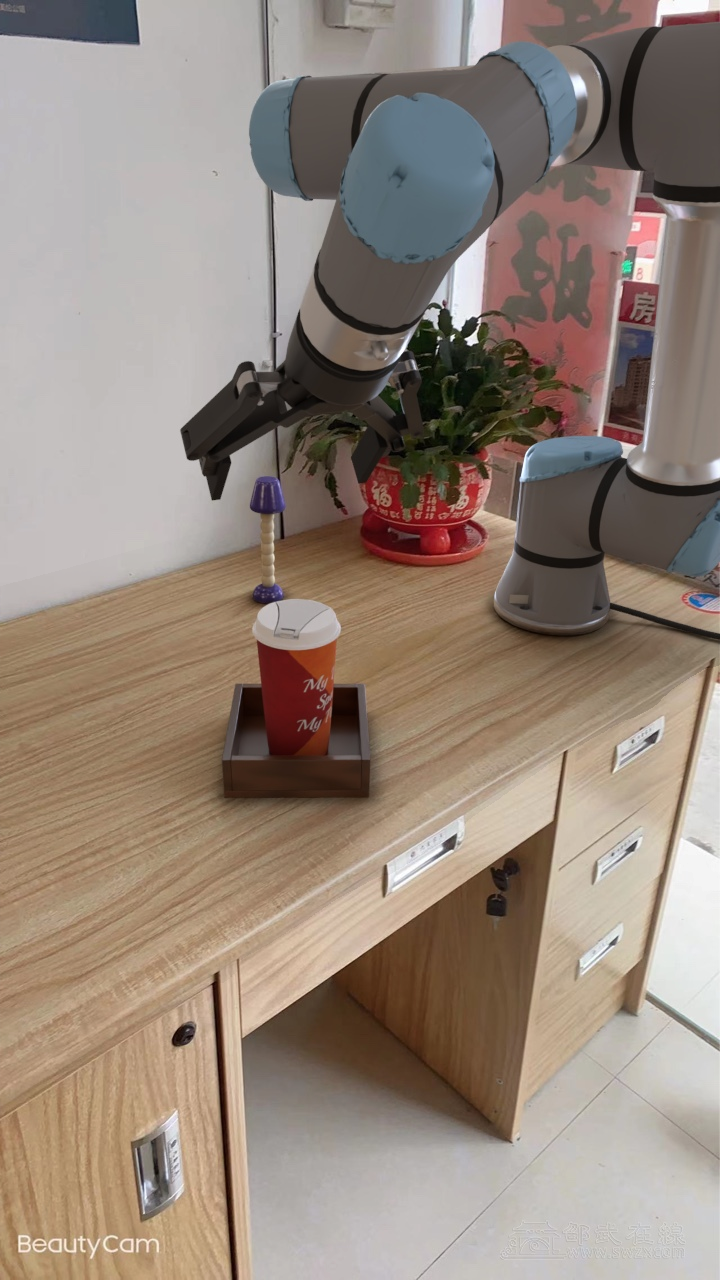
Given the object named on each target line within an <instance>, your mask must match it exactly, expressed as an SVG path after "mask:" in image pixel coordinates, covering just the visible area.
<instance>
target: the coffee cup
mask: <svg viewBox="0 0 720 1280" xmlns="http://www.w3.org/2000/svg"><path fill="white" fill-rule="evenodd" d="M341 626H342V625H341V623H340V622H339V620H338V619H337V614H336V612H335V610H334V609H333V608H332V607H330V606H328V605H327V604H325V603H324V602H320V601H318V600H313V599H306V598H290V599H282V600H280V601H277V602H273V603H267V604H266V605H264V606H263V607H262V608H260V610H259V611H258V613H257V615H256V620H255V621H254V622H253V625H252V627H251V631H252V635H253V637H254V638H255V639H256V646H257V657H258V664H259V666H258V667H259V674H260V684H261V686H262V696H263V705H264V715H265V724H266V733H267V741H268V747H269V752H270V755H326V754H327V751H328V746H329V737H330V725H331V713H332V699H333V685H334V684H335V683H334V682H335V670H336V655H337V643H338V638H339V636H340V635H341V632H342V627H341Z"/></svg>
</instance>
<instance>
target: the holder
mask: <svg viewBox="0 0 720 1280" xmlns="http://www.w3.org/2000/svg"><path fill="white" fill-rule="evenodd" d="M366 694H367V693H366V684H365V683H334V685H333V699H332V713H331V725H330V737H329V746H328V751H327V754H326V755H270V752H269V747H268V741H267V733H266V724H265V715H264V705H263V696H262V686H261V683H235V684H234V690H233V694H232V695H233V696H232V701H231V706H230V712H229V718H228V723H227V727H226V728H227V730H226V734H225V741H224V745H223V752H222V758H221V766H222V768H221V769H222V771H221V772H222V783H223V784H222V785H223V786H222V787H223V797H224V798H369V797H370V783H371V781H370V780H371V751H370V738H369V737H370V735H369V723H368V721H369V720H368V710H367V709H368V708H367V695H366Z"/></svg>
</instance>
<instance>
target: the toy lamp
mask: <svg viewBox="0 0 720 1280" xmlns="http://www.w3.org/2000/svg"><path fill="white" fill-rule="evenodd" d="M286 506H287V505H286V501H285V497H284V493H283V490H282V485H281V482H280V480H279V479H278V478H277V477H276V476H271V475H266V476H259V477H257V478H256V480H255V482H254V486H253V489H252V494H251V498H250V502H249V509H250V510H251V511H252V512H254V513H256V514H260V515H259V517H260V520H261V521H260V530H261V533H260V541H261V544H260V551H261V555H260V556H261V557H260V561H261V567H260V568H261V571H260V572H261V574H262V575H261V579H260V580H261V583H260V584H257V586H256V587H254V590H253V592H252V599H253V600H254V601H255V602H258V603H261V604H270V603H273V602H277V601H282V600H284V592H283V589H282V588H281V586H279V585H278V584H276V583H275V582H276V581H275V580H276V579H275V578H276V577H275V575H274V574H275V565H274V563H275V554H274V551H275V544H274V541H275V533H274V529H275V524H274V523H275V522H274V518H275V514H281V513H282V512H284V511H285V510H286Z"/></svg>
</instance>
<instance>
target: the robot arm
mask: <svg viewBox="0 0 720 1280" xmlns="http://www.w3.org/2000/svg"><path fill="white" fill-rule="evenodd" d="M248 137H249V146H250V150H251V151H250V155H251V161H252V163H253V166H254V168H255V171H256V172H257V174H258V176H259V177H260V179H261V180H262V182H263V184H264V185H266V187H267V188H269V190H271V191H273V193H276V194H278V195H280V196H283V197H291V198H297V199H299V198H300V199H302V200H303V201H305V202H312V201H314V200H330V201H335V203H334V206H333V209H332V212H331V215H330V219H329V222H328V224H327V228H326V230H325V234H324V237H323V240H322V243H321V246H320V249H319V250H318V253H317V257H316V259H315V263H314V266H313V268H312V271H311V274H310V277H309V279H308V282H307V285H306V287H305V290H304V293H303V295H302V298H301V303H300V307H299V310H298V312H297V315H296V317H295V320H294V323H293V327H292V329H291V332H290V336H289V339H288V342H287V347H286V352H285V358H284V360H283V361H282V362H281V363H280V364H279V365H278V366H277V367H276V368H275V369H274V371H257V369H256V366H255V363H254V362H253V361H249V360H246V361H245V360H244V361H243V362H240V363H239V364H238V365H237V367H236V370H235V372H234V374H233V376H232V378H231V380H229V382H228V383H227V384H225V386H224V387H223V388H222V389H221V390H219V392H218V393H216V394H215V395H214V396H213V397H212V398H211V399H210V400H209V401H208V402H207V403H205V405H204V406H203V407H202V408H200V410H199V411H198V412H197V413H195V414H194V415H193V416H192V417H191V418H190V419H189V420H188V421H187V422H186V423H185V424H184V425H183V426H182V427H181V428H180V430H179V432H180V436H181V441H182V444H183V445H182V446H183V448H184V453H185V457H186V460H187V461H189V462H190V461H191V462H194V461H198V462H199V467H200V471H201V475H203V477H205V478H206V482H207V486H208V491H209V496H210V498H211V499H210V500H211V501H221V499H222V496H223V492H224V489H225V485H226V482H227V479H228V476H229V472H230V469H231V466H232V459H231V455H232V454H234V453H236V452H238V451H240V450H241V449H243V448H245V447H246V446H248V445H250V444H252V443H253V442H255V441H257V440H258V439H260V438H261V437H263V436H265V435H266V434H268V433H270V432H271V431H273V430H275V429H276V428H278V427H283V428H285V429H288V428H290V427H291V426H293V425H295V424H297V423H298V422H301V421H302V420H303V419H305V418H312V417H317V416H321V415H322V416H323V415H330V416H334V415H343V412H348V413H352V415H354V416H355V417H356V418H357V419H358V420H359V421H361V422H363V421H365V422H366V423H367V424H368V425H367V427H366V429H365V431H364V433H363V434H362V436H361V438H360V440H359V441H358V443H357V445H356V446H355V448H354V451H353V452H352V454H351V456H350V460H351V463H352V467H353V470H354V473H355V477H356V480H357V484H366V483H367V482H368V480H369V479H370V477H371V475H372V474H373V472H374V471H375V469H376V467H377V466H378V464H379V462H380V461H381V459H382V458H386V457H387V456H388V455H389V454H390V453H391V452H393V453H398V452H401V451H403V450H404V449H405V448H406V444H405V441H404V438H403V437H405V436H408V435H410V438H412V439H418V438H421V437H423V436H424V435H425V428H424V423H423V419H422V415H421V409H420V404H419V399H418V396H417V394H418V392H419V389H420V388H421V385H422V382H423V380H422V376H421V373H420V371H419V367H418V364H417V361H416V358H415V355H414V352H413V351H411V350H406V348H407V346H408V345H409V343H410V341H411V339H412V337H413V335H414V334H415V332H416V330H417V328H418V326H419V324H420V322H421V321H422V319H423V317H424V315H425V313H426V311H427V309H428V307H429V305H430V303H431V301H432V300H433V298H434V296H435V294H436V293H437V291H438V289H439V288H440V286H441V284H442V283H443V280H444V278H445V277H446V275H447V274H448V272H449V271H450V269H451V268H452V266H453V265H454V264H455V262H457V260H459V258H460V257H461V256H462V255H463V254H464V253H465V252H466V251H467V250H469V248H470V247H471V246H472V245H473V244H474V243H475V242H476V241H477V240H479V238H480V237H481V236H482V235H484V234H485V232H486V231H487V230H488V229H489V228H490V227H491V226H492V225H493V223H494V222H495V221H496V220H497V219H498V218H499V217H500V216H501V215H502V214H504V213H505V212H506V211H507V210H508V209H509V208H510V207H511V206H512V205H513V204H514V203H515V202H516V201H517V200H519V198H521V197H522V196H523V195H524V194H525V193H526V192H527V191H529V189H530V188H532V187H533V186H534V185H536V184H538V183H540V182H541V181H542V179H543V178H544V177H545V176H546V175H547V171H548V170H550V168H551V167H559V166H565V165H575V166H576V165H577V166H588V167H596V168H597V167H598V168H603V169H604V168H606V169H613V170H622V171H634V172H635V171H636V172H654V175H653V185H652V186H653V187H652V199H653V200H654V201H655V202H656V203H657V204H658V205H659V206H660V208H661V209H662V210H663V211H664V214H665V217H666V218H665V229H664V239H663V247H662V256H661V265H660V276H659V283H658V294H657V295H658V296H657V303H656V311H655V312H656V313H655V321H654V331H653V341H652V349H651V359H650V368H649V377H648V385H647V386H648V388H647V396H646V406H645V407H646V408H645V415H644V423H643V434H642V441H641V442H640V443H639V444H638V445H636V446H635V447H633V448H632V449H631V450H630V451H629V452H628V454H627V457H623V454H624V448H623V445H622V443H621V442H620V441H619V440H615V439H614V438H611V437H606V436H600V435H599V436H597V435H568V436H561V437H553V438H548V439H545V440H541V441H539V442H537V443H535V444H533V445H531V447H529V449H527V451H526V452H525V455H524V459H523V464H522V469H521V474H520V477H519V482H520V485H519V493H518V503H517V512H516V513H517V514H516V522H515V523H516V524H515V532H514V533H515V534H514V541H513V542H514V543H513V549H512V554H511V556H510V558H509V560H508V562H507V565H506V566H505V569H504V571H503V572H502V575H501V578H500V580H499V581H498V584H497V586H496V590H495V592H494V598H493V607H494V610H495V612H496V614H497V615H498V616H499V617H500V618H502V620H504V621H506V622H508V623H509V624H511V625H513V626H514V627H518V628H520V629H522V630H526V631H528V632H532V633H538V634H542V635H548V636H549V635H550V636H577V635H579V636H580V635H585V634H589V633H592V632H596V631H597V630H599V629H601V628H602V627H604V626H605V625H606V624H607V622H608V621H609V619H610V618H609V617H610V611H611V610H612V611H616V612H618V613H619V612H620V613H622V614H626V615H629V616H633V617H637V618H639V619H643V620H646V621H649V622H653V623H656V624H658V625H662V626H665V627H669V628H673V629H676V630H680V631H683V632H687V633H690V634H693V635H697V636H701V637H705V638H709V639H714V640H717V641H720V633H719V632H715V631H712V630H711V631H710V630H706V629H702V628H698V627H695V626H691V625H688V624H684V623H680V622H677V621H673V620H670V619H667V618H663V617H660V616H657V615H654V614H651V613H648V612H644V611H641V610H637V609H634V608H631V607H628V606H623V605H619V604H617V603H613V602H611V598H610V593H609V592H610V591H609V587H608V581H607V576H606V575H607V574H606V570H605V566H604V564H605V563H604V560H605V554H606V555H610V556H612V557H613V556H614V557H617V558H621V559H624V560H628V561H632V562H635V563H638V564H641V565H645V566H649V567H653V568H657V569H659V570H664V571H666V573H668V574H672V573H674V574H679V575H684V576H688V577H693V578H700V577H705V576H706V575H708V574H709V573H711V572H712V571H713V570H714V569H715V568H716V567H717V566H718V564H719V562H720V21H711V22H702V23H701V22H700V23H689V24H674V25H665V26H664V25H663V26H656V25H655V26H642V27H636V28H631V29H626V30H622V31H618V32H613V33H609V34H606V35H602V36H599V37H595V38H591V39H586V40H582V41H577V42H573V43H568V44H560V45H559V44H558V45H552V46H548V47H544V46H542V45H540V44H538V43H535V42H531V41H526V40H525V41H524V40H523V41H521V40H519V41H512V42H509V43H506V44H504V45H502V46H501V47H499V48H497V49H496V50H492V51H489V52H488V53H486V54H485V55H484V54H483V55H482V56H481V57H480V58H479V59H478V61H477V62H476V63H475V64H472V65H459V66H447V67H436V68H435V67H434V68H433V67H432V68H431V67H430V68H421V69H420V68H419V69H408V70H395V71H393V70H392V71H382V72H374V73H355V74H345V75H344V74H342V75H326V76H325V75H324V76H311V75H299V76H297V77H296V78H289V79H280V80H277V81H274V82H272V83H271V84H269V85H267V86H266V88H264V89H263V90H262V91H261V93H260V94H259V95H258V97H257V98H256V100H255V103H254V105H253V108H252V110H251V114H250V119H249V126H248ZM388 383H389V385H390V387H391V388H393V389H395V391H396V393H397V394H398V397H399V401H400V404H401V409H402V413H401V414H396V413H395V411H394V410H393V409H392V408H391V407H390V406H389V405H388V404H387V403H386V402H385V401H384V400H383V399H382V398H381V397H380V396H379V394H381V393H382V392H383V390H384V389H385V388H386V386H387V384H388ZM286 403H287V404H286ZM287 405H288V406H289V407H290V408H289V409H288V408H287Z"/></svg>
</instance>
